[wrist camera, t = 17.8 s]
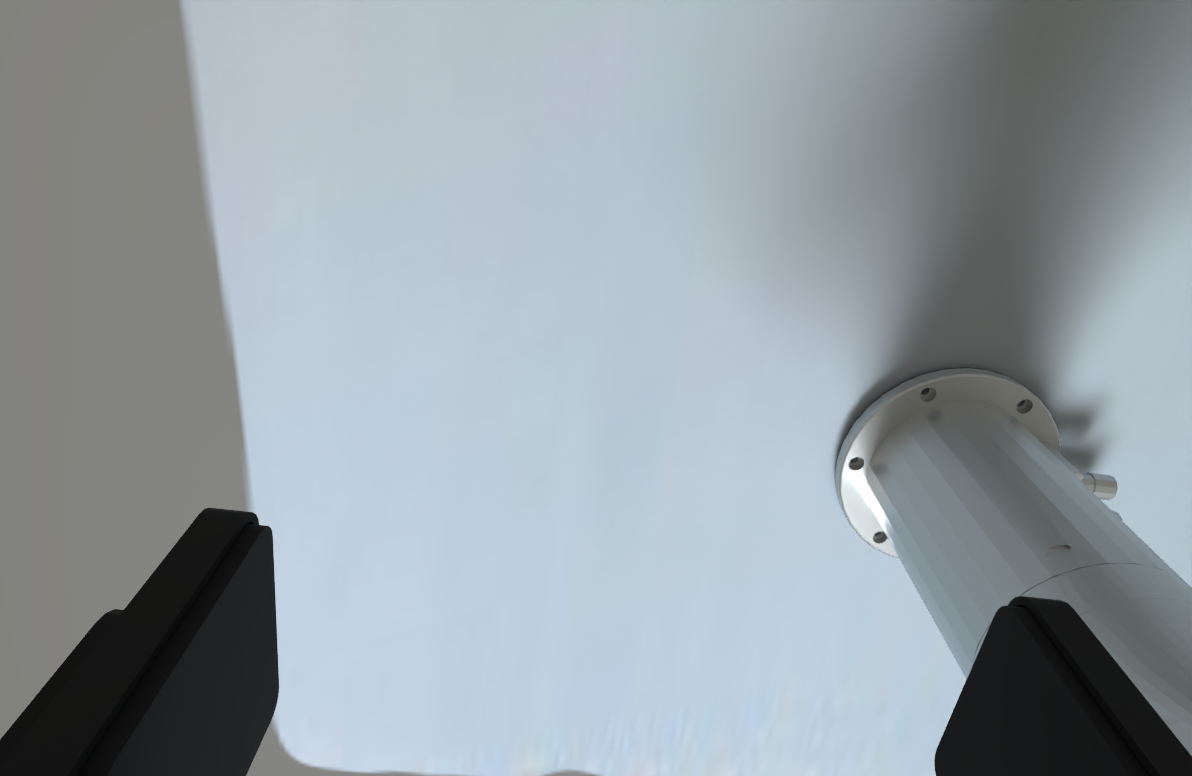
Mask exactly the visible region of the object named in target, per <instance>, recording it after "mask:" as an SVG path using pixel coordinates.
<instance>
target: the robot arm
mask: <svg viewBox="0 0 1192 776" xmlns="http://www.w3.org/2000/svg"><path fill="white" fill-rule="evenodd" d="M924 389H925V390H924ZM923 390H924V391H923ZM854 457H855V458H854ZM835 481H836V492H837V496H838V499H839V502H840V505H841V508H842V510H843V512H844V514H845V516H846V518H847V520H848V522H849V524H850V525H851V526H852V528H853V529H854V530H855V531H856V533H857V534H858V535H859V536H860V537H861V538H862V539H863V540H864V541H865V542H867V543H868V544H869V545H870V546H872V547H873V548H875V549H877V550H879V551H881V552H883V553H885V554H887V555H889V556H892V557H896V558H899V559H900V561H901V562H902V564H903V566H904V568H905V570H906V571H907V573H908V575H909V577H910V579H911V580H912V582H913V584H914V586H915V587H916V589H917V591H918V593H919V595H920V596H921V598H922V600H923V602H924V604H925V605H926V607H927V609H928V611H929V613H930V614H931V616H932V618H933V620H934V622H935V623H936V625H937V627H938V629H939V631H940V632H941V634H942V636H943V638H944V640H945V641H946V643H947V645H948V647H949V649H950V650H951V652H952V654H953V656H954V658H955V659H956V661H957V663H958V665H959V667H960V668H961V670H962V672H963V674H964V676H965V677H966V679H967V680H966V683H965V685H964V687H963V689H962V692H961V694H960V696H959V699H958V701H957V703H956V706H955V708H954V710H953V713H952V715H951V717H950V720H949V722H948V724H947V727H946V729H945V731H944V734H943V736H942V738H941V741H940V743H939V745H938V748H937V750H936V754H935V771H936V776H1192V587H1191V586H1189V585H1188V584H1187V583H1186V582H1185V581H1184V580H1183V579H1182V578H1181V577H1180V576H1179V575H1178V574H1177V573H1176V572H1175V571H1173V570H1172V569H1171V568H1170V567H1169V566H1168V565H1167V564H1166V563H1165V562H1164V561H1163V560H1162V559H1161V558H1160V557H1159V556H1158V555H1157V554H1156V553H1155V552H1154V551H1153V550H1152V549H1151V548H1150V547H1149V546H1148V545H1147V544H1146V543H1145V542H1144V541H1142V540H1141V539H1140V538H1139V537H1138V536H1137V535H1136V534H1135V533H1134V532H1133V531H1132V530H1131V529H1130V528H1129V527H1128V526H1127V525H1126V524H1125V523H1124V522H1123V521H1122V518H1121V517H1120V515H1119V514H1118V513H1117V512H1115V511H1113V510H1110V509H1109V508H1108V507H1107V506H1106V505H1105V504H1104V503H1103V502H1102V501H1101V500H1100V499H1104V500H1110V499H1113V497H1114V496H1115V495H1116V492H1117V482H1116V480H1115V478H1114V477H1112V476H1110V475H1103V474H1095V473H1086V474H1085V473H1081V472H1079V471H1078V470H1077V469H1076V468H1075V467H1074V466H1073V465H1072V464H1071V463H1070V462H1069V461H1068V460H1067V459H1066V458H1065V457H1064V456H1063V455H1062V454H1061V443H1060V438H1059V432H1058V428H1057V426H1056V424H1055V422H1054V419H1053V417H1052V415H1051V413H1050V412H1049V410H1048V409H1047V408H1046V407H1045V406H1044V404H1043V403H1042V402H1041V401H1040V399H1039V398H1038V397H1036V396H1035V395H1034V394H1033V393H1032V392H1031V391H1029V390H1028V389H1027V388H1026V387H1025V386H1023V385H1021V384H1020V383H1018V382H1016V381H1014V380H1013V379H1011V378H1009V377H1007V376H1004V375H1001V374H998V373H995V372H992V371H989V370H981V369H973V368H958V369H945V370H940V371H936V372H931V373H927V374H923V375H921V376H918V377H916V378H913V379H911V380H908V381H906V382H903V383H902V384H900V385H898V386H897V387H895V388H893V389H892V390H890V391H888V392H886V393H885V394H883V395H882V396H881V397H880V398H879V399H877V400H876V401H875V402H874V403H873V404H871V405H870V406H869V407H868V408H867V409H866V410H865V411H864V412H863V414H862V415H861V416H860V417H859V418H858V419H857V421H856V422H855V423H854V424H853V426H852V428H851V429H850V431H849V433H848V434H847V436H846V438H845V440H844V441H843V444H842V447H841V450H840V453H839V456H838V458H837V466H836V473H835ZM278 692H279V677H278V653H277V629H276V606H275V582H274V558H273V536H272V530H271V528H270V527H269V526H262V525H259V521H258V518H257V516H256V514H254V513H252V512H242V511H234V510H225V509H216V508H207V509H204V510H203V511H202V512H201V513H200V514H199V515H198V516H197V518H196V519H195V520H194V522H193V523H192V524H191V525H190V527H189V528H188V530H187V531H186V532H185V533H184V534H183V536H182V537H181V538H180V539H179V541H178V542H177V543H176V545H175V546H174V547H173V548H172V550H171V551H170V552H169V553H168V555H167V556H166V557H165V558H164V560H163V561H162V562H161V564H160V565H159V566H158V567H157V569H156V570H155V571H154V572H153V574H152V575H151V576H150V578H149V579H148V580H147V581H146V583H145V584H144V585H143V586H142V588H141V589H140V590H139V592H138V593H137V594H136V595H135V597H134V598H133V599H132V600H131V602H130V603H129V604H128V606H127V607H126V608H125V609H124V610H117V609H114V610H112V611H110V612H107V613H105V614H104V615H103V616H102V617H101V618H100V619H99V620H98V621H97V622H96V623H95V624H94V626H93V627H92V628H91V629H90V630H89V632H88V633H87V634H86V635H85V637H84V638H83V639H82V640H81V641H80V643H79V644H78V645H77V646H76V648H75V649H74V650H73V651H72V653H71V654H70V655H69V656H68V657H67V659H66V660H65V661H64V662H63V664H62V665H61V666H60V667H59V668H58V670H57V671H56V672H55V673H54V675H53V676H52V677H51V678H50V680H49V681H48V682H47V683H46V684H45V686H44V687H43V688H42V689H41V691H40V692H39V693H38V694H37V695H36V697H35V698H34V699H33V700H32V702H31V703H30V704H29V705H28V706H27V708H26V709H25V710H24V711H23V713H22V714H21V715H20V716H19V717H18V719H17V720H16V721H15V722H14V724H13V725H12V726H11V727H10V729H9V730H8V731H7V732H6V734H5V735H4V736H3V737H2V738H1V740H0V776H246V774H247V772H248V770H249V768H250V765H251V763H252V761H253V759H254V757H255V755H256V752H257V750H258V748H259V746H260V743H261V741H262V739H263V737H264V735H265V733H266V730H267V728H268V726H269V724H270V722H271V719H272V717H273V714H274V711H275V708H276V704H277V699H278Z"/></svg>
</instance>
